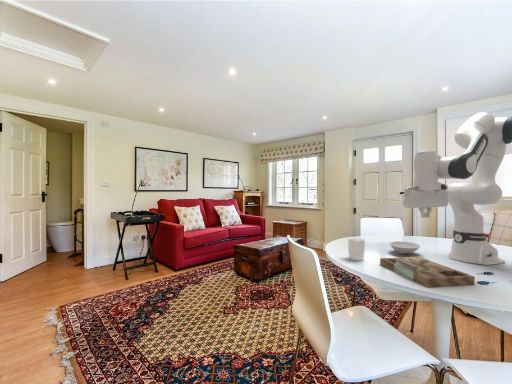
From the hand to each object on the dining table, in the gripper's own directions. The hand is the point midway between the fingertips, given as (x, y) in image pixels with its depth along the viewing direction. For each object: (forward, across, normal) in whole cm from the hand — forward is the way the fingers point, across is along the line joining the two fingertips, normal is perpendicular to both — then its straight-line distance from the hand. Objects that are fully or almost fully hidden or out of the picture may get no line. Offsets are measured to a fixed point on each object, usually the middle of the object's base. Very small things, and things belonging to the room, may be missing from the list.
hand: (425, 217), depth 110 cm
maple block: (+19, -11, -8) cm, 24 cm away
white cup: (+22, -23, +17) cm, 36 cm away
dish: (+23, +9, +23) cm, 34 cm away
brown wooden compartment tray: (+22, -8, -6) cm, 24 cm away
